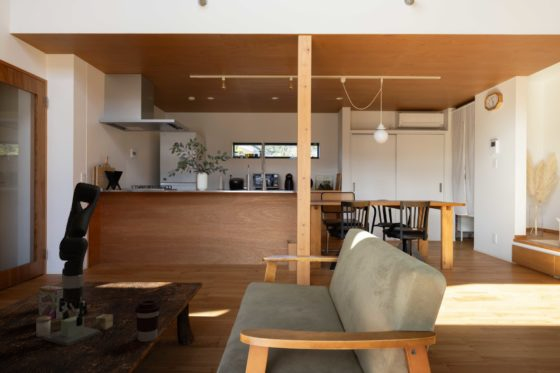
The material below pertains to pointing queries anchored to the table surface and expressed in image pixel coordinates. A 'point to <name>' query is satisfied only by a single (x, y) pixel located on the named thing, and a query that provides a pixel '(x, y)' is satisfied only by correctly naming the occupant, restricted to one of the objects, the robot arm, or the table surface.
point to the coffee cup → (147, 320)
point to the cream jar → (43, 326)
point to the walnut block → (55, 324)
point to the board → (72, 339)
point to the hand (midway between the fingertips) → (72, 324)
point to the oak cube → (104, 321)
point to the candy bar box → (50, 301)
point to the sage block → (71, 327)
